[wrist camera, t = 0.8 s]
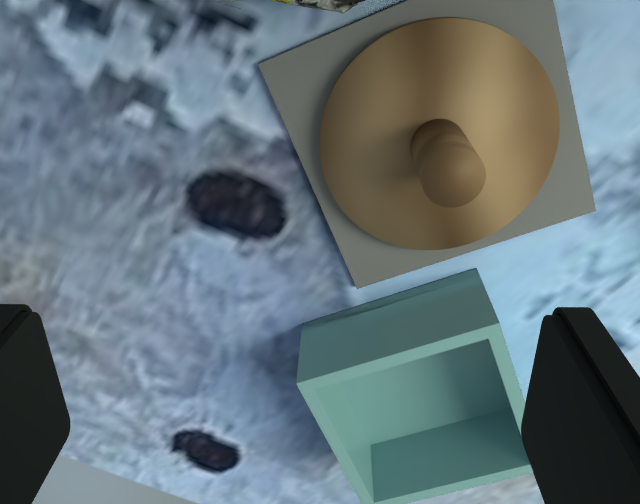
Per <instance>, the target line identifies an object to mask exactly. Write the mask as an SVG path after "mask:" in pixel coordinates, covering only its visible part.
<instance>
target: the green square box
mask: <svg viewBox="0 0 640 504" xmlns="http://www.w3.org/2000/svg"><path fill="white" fill-rule="evenodd" d="M296 384H297V386H298V388H299V390H300V392H301V394H302V395H303V397H304V399H305V401H306V403H307V405H308V406H309V408H310V410H311V412H312V414H313V416H314V417H315V419H316V421H317V423H318V425H319V427H320V428H321V430H322V432H323V434H324V436H325V438H326V439H327V441H328V443H329V445H330V447H331V449H332V450H333V452H334V454H335V456H336V458H337V460H338V461H339V463H340V465H341V467H342V469H343V471H344V472H345V474H346V476H347V478H348V480H349V482H350V483H351V485H352V487H353V489H354V491H355V493H356V494H357V496H358V498H359V500H360V502H361V504H407V503H411V502H415V501H419V500H423V499H427V498H431V497H435V496H440V495H444V494H448V493H452V492H456V491H460V490H464V489H469V488H473V487H477V486H481V485H485V484H489V483H493V482H497V481H502V480H506V479H510V478H514V477H518V476H522V475H526V474H531V473H533V470H532V467H531V465H530V462H529V459H528V457H527V454H526V451H525V448H524V446H523V442H522V437H521V423H522V418H523V413H524V408H525V402H524V398H523V395H522V392H521V389H520V386H519V383H518V380H517V376H516V373H515V370H514V367H513V364H512V361H511V358H510V354H509V351H508V348H507V345H506V342H505V339H504V336H503V332H502V329H501V326H500V323H499V321H498V318H497V316H496V314H495V311H494V309H493V306H492V304H491V302H490V299H489V297H488V294H487V292H486V290H485V287H484V285H483V283H482V280H481V278H480V275H479V273H478V271H477V268H475V269H472V270H469V271H465V272H462V273H459V274H456V275H453V276H450V277H447V278H444V279H441V280H437V281H434V282H431V283H428V284H425V285H422V286H419V287H416V288H412V289H409V290H406V291H403V292H400V293H397V294H394V295H391V296H387V297H384V298H381V299H378V300H375V301H372V302H369V303H366V304H363V305H359V306H356V307H353V308H350V309H347V310H344V311H341V312H338V313H334V314H331V315H328V316H325V317H322V318H319V319H316V320H313V321H310V322H306V323H303V324H302V329H301V339H300V349H299V359H298V369H297V379H296Z"/></svg>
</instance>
